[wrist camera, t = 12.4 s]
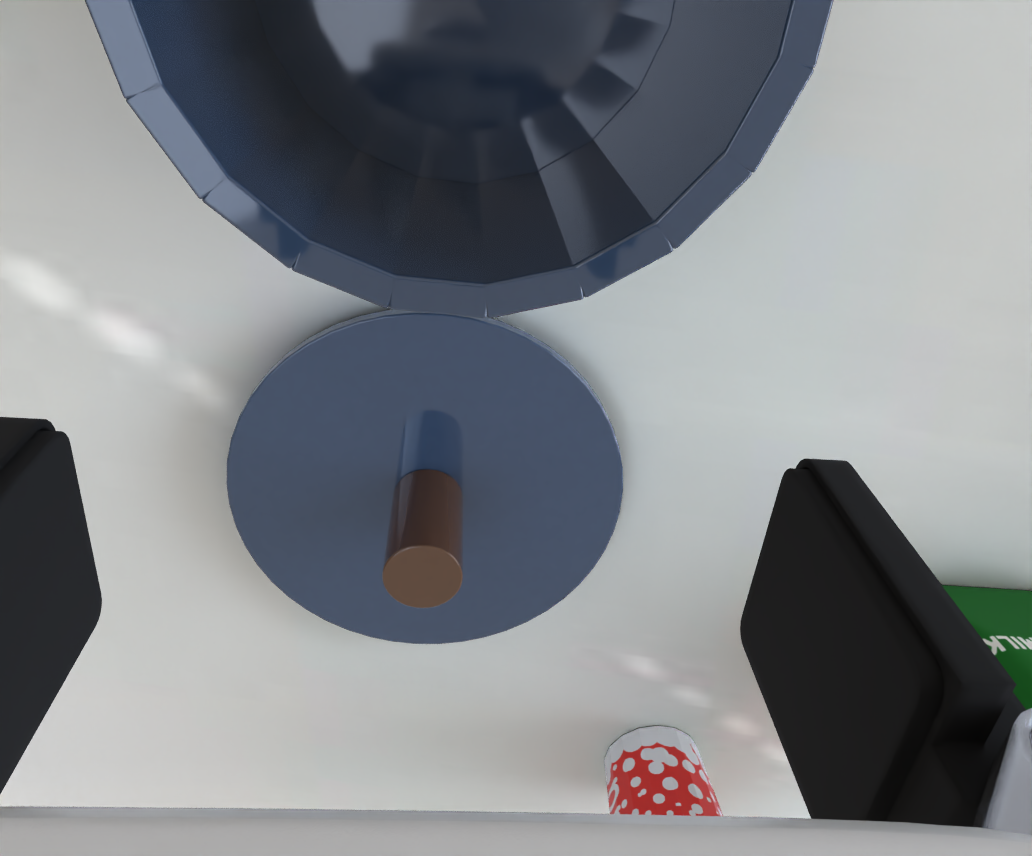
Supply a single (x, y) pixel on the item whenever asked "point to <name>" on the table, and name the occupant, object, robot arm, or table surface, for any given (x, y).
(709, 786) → the beverage cup
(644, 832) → the robot arm
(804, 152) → the table surface
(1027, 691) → the milk carton
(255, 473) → the crock lid
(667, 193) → the crock
